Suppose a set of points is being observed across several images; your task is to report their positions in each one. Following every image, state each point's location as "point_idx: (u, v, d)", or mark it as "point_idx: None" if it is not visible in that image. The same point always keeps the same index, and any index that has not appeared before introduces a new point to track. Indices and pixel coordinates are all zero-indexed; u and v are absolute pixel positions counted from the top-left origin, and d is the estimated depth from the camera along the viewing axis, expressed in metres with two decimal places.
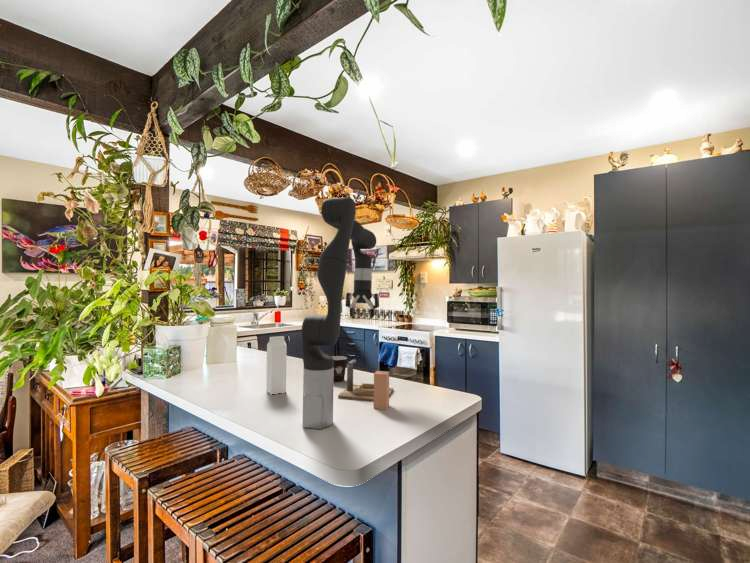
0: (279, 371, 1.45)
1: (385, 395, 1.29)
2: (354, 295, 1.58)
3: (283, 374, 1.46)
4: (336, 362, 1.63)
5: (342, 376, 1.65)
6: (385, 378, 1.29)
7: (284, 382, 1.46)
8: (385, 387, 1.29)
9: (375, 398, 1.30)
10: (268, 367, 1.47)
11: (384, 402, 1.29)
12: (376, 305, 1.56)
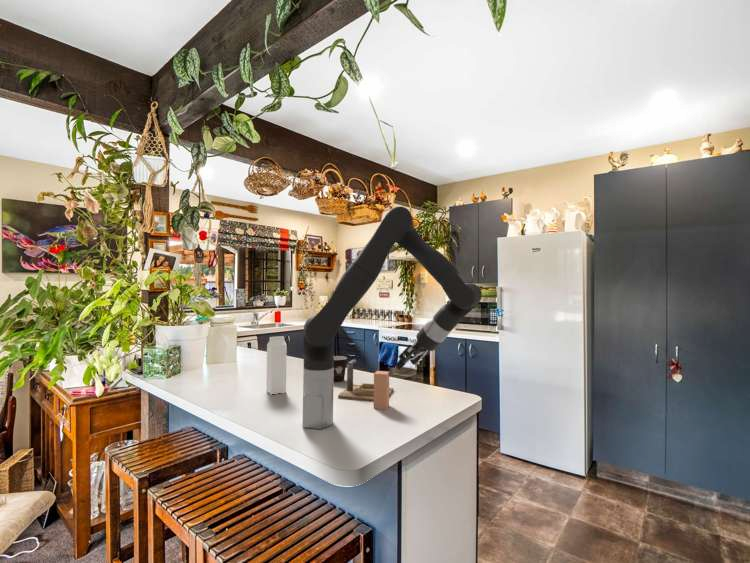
0: (279, 371, 1.45)
1: (385, 395, 1.29)
2: None
3: (283, 374, 1.46)
4: (336, 362, 1.63)
5: (342, 376, 1.65)
6: (385, 378, 1.29)
7: (284, 382, 1.46)
8: (385, 387, 1.29)
9: (375, 398, 1.30)
10: (268, 367, 1.47)
11: (384, 402, 1.29)
12: None
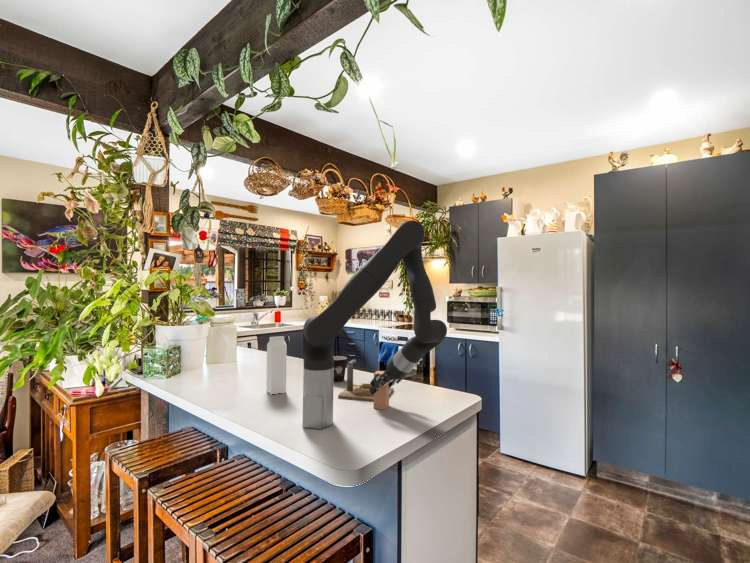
0: (279, 371, 1.45)
1: (385, 395, 1.29)
2: None
3: (283, 374, 1.46)
4: (336, 362, 1.63)
5: (342, 376, 1.65)
6: None
7: (284, 382, 1.46)
8: (385, 387, 1.29)
9: (375, 398, 1.30)
10: (268, 367, 1.47)
11: (384, 402, 1.29)
12: None
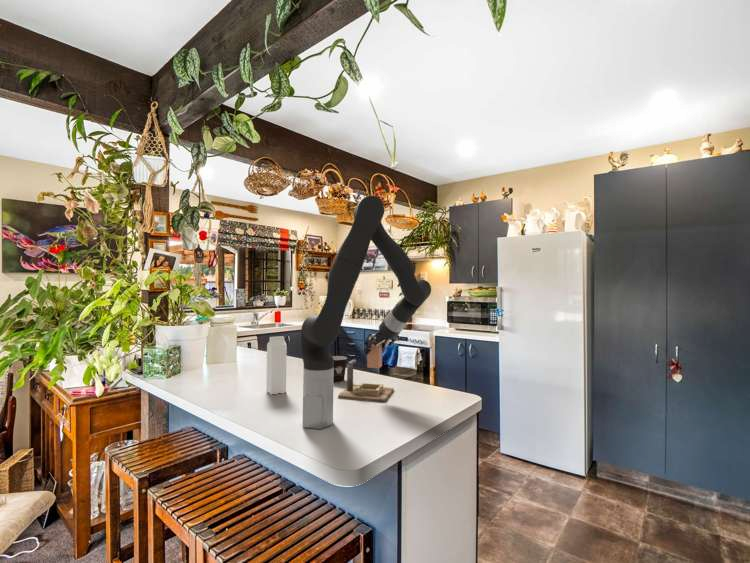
0: (279, 371, 1.45)
1: (378, 355, 1.39)
2: None
3: (283, 374, 1.46)
4: (336, 362, 1.63)
5: (342, 376, 1.65)
6: None
7: (284, 382, 1.46)
8: (378, 348, 1.39)
9: (369, 358, 1.40)
10: (268, 367, 1.47)
11: (377, 362, 1.39)
12: None
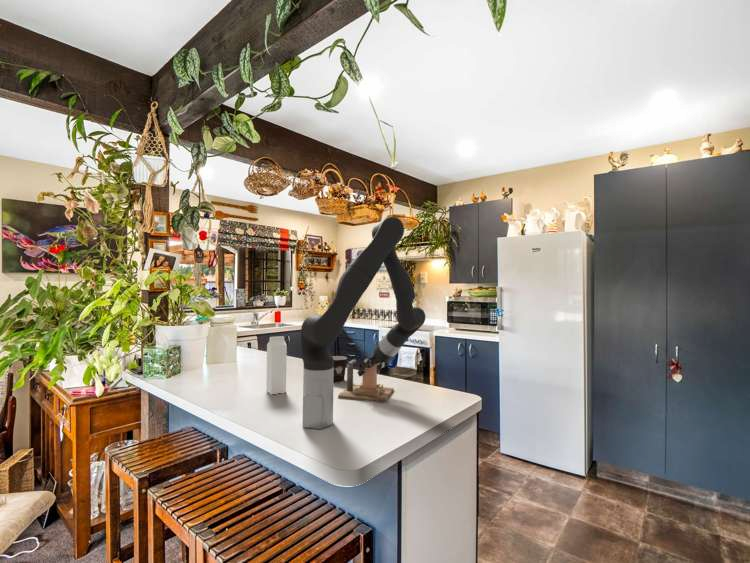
0: (279, 371, 1.45)
1: (373, 381, 1.43)
2: None
3: (283, 374, 1.46)
4: (336, 362, 1.63)
5: (342, 376, 1.65)
6: None
7: (284, 382, 1.46)
8: (372, 374, 1.43)
9: (364, 384, 1.44)
10: (268, 367, 1.47)
11: (372, 387, 1.43)
12: None
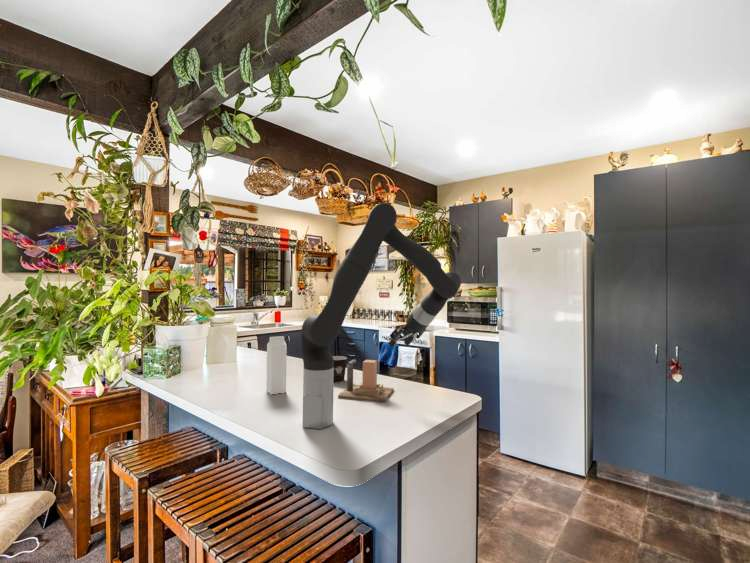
0: (279, 371, 1.45)
1: (373, 381, 1.44)
2: None
3: (283, 374, 1.46)
4: (336, 362, 1.63)
5: (342, 376, 1.65)
6: (373, 366, 1.43)
7: (284, 382, 1.46)
8: (373, 374, 1.44)
9: (364, 384, 1.44)
10: (268, 367, 1.47)
11: (372, 387, 1.43)
12: None
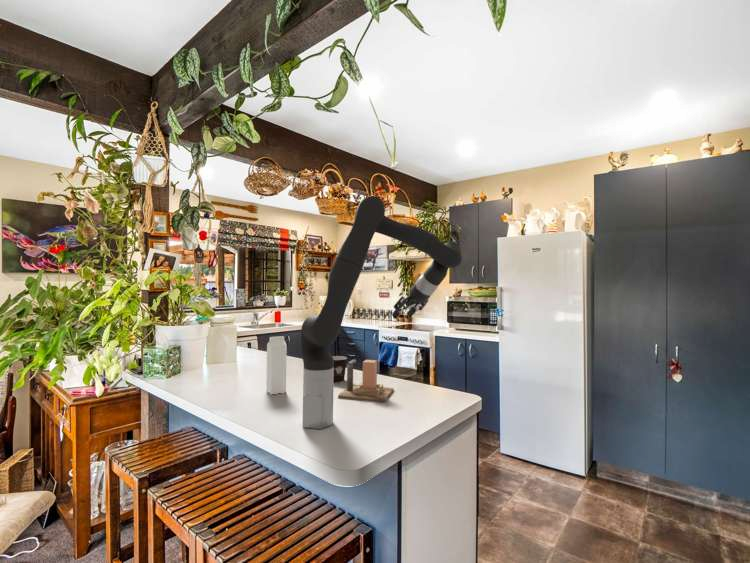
0: (279, 371, 1.45)
1: (373, 381, 1.44)
2: None
3: (283, 374, 1.46)
4: (336, 362, 1.63)
5: (342, 376, 1.65)
6: (373, 366, 1.43)
7: (284, 382, 1.46)
8: (373, 374, 1.44)
9: (364, 384, 1.44)
10: (268, 367, 1.47)
11: (372, 387, 1.43)
12: None
